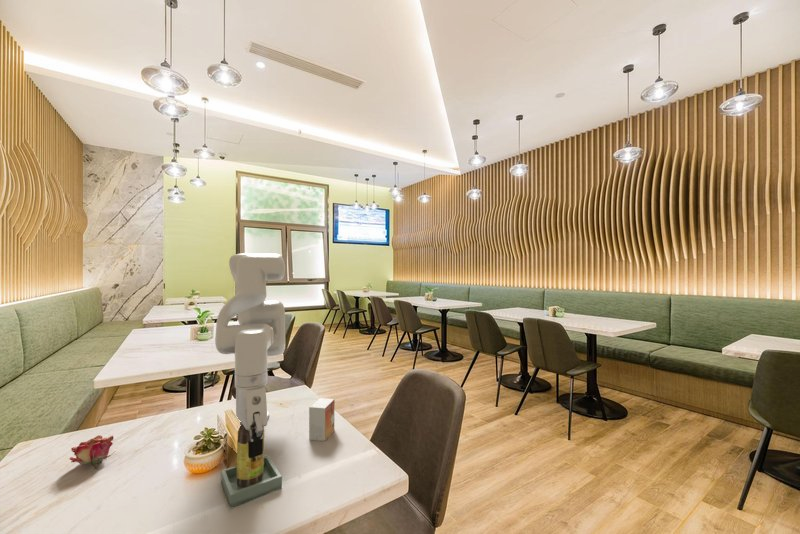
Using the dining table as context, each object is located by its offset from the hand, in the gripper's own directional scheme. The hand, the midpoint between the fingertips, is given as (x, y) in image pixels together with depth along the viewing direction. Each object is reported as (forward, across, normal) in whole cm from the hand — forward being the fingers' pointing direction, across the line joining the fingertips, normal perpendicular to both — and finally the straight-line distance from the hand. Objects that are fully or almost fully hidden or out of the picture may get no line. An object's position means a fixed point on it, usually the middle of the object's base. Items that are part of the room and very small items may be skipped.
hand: (251, 447), depth 84 cm
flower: (+10, +36, +33) cm, 50 cm away
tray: (+9, 0, 0) cm, 9 cm away
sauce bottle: (+9, +1, 0) cm, 9 cm away
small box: (+10, +13, -25) cm, 30 cm away
